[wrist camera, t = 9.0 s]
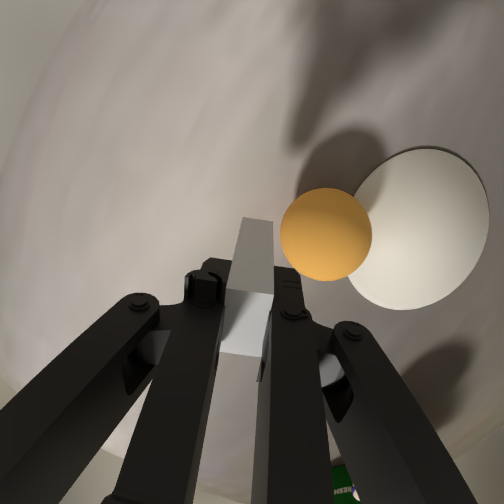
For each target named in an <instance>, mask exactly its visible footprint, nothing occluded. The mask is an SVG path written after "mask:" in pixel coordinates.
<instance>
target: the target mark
mask: <svg viewBox="0 0 504 504" xmlns="http://www.w3.org/2000/svg"><path fill="white" fill-rule="evenodd" d="M353 197H354V198H355V199H356V200H358V201H359V203H360V204H361V205H362V206H363V208H364V209H365V210H366V212H367V214H368V216H369V219H370V222H371V227H372V243H371V247H370V250H369V253H368V255H367V257H366V259H365V260H364V262H363V263H362V264H361V266H360V267H359V268H358V269H357V270H355V271H354V272H353V273H351V274H350V275H348V277H349V279H350V281H351V283H352V284H353V286H354V287H355V288H356V289H357V291H358V292H359V293H360V294H361V295H363V296H364V297H365V298H366V299H368V300H369V301H371V302H372V303H375V304H377V305H379V306H382V307H385V308H389V309H395V310H409V309H416V308H420V307H424V306H427V305H430V304H432V303H434V302H436V301H438V300H440V299H442V298H444V297H445V296H447V295H448V294H450V293H451V292H452V291H453V290H455V289H456V288H457V287H458V286H459V285H460V284H461V283H462V282H463V281H464V280H465V279H466V278H467V276H468V275H469V274H470V272H471V271H472V270H473V268H474V267H475V265H476V263H477V261H478V260H479V258H480V255H481V253H482V251H483V248H484V245H485V242H486V238H487V233H488V226H489V208H488V201H487V197H486V193H485V191H484V188H483V186H482V183H481V182H480V180H479V178H478V176H477V175H476V174H475V172H474V171H473V170H472V169H471V168H470V167H469V166H468V165H467V164H466V163H465V162H464V161H462V160H461V159H459V158H458V157H456V156H454V155H452V154H450V153H447V152H444V151H440V150H436V149H416V150H412V151H408V152H404V153H402V154H399V155H397V156H394V157H393V158H391V159H389V160H387V161H386V162H384V163H383V164H381V165H380V166H379V167H378V168H376V169H375V170H374V171H373V172H372V173H371V174H370V175H369V176H368V177H367V178H366V179H365V180H364V182H363V183H362V184H361V185H360V187H359V188H358V190H357V191H356V193H355V195H354V196H353Z"/></svg>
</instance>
